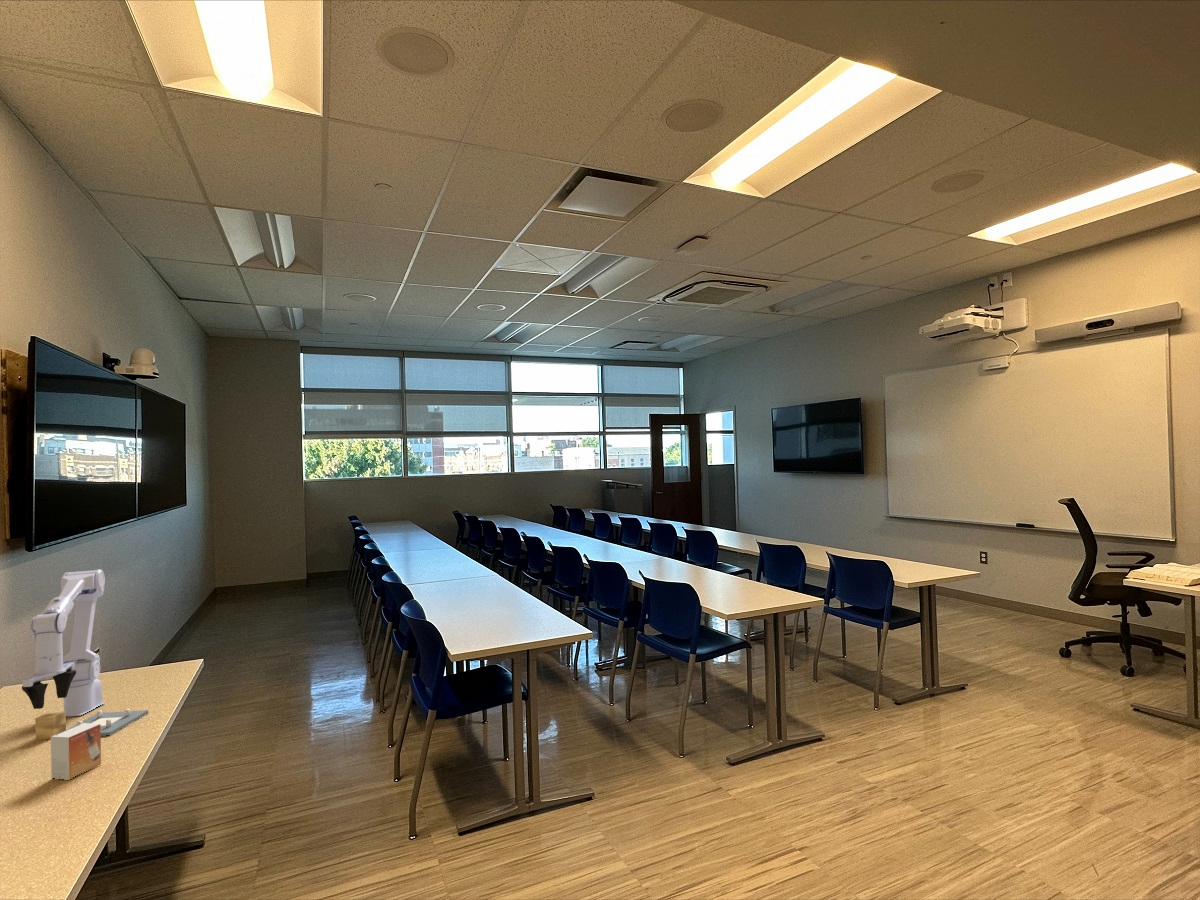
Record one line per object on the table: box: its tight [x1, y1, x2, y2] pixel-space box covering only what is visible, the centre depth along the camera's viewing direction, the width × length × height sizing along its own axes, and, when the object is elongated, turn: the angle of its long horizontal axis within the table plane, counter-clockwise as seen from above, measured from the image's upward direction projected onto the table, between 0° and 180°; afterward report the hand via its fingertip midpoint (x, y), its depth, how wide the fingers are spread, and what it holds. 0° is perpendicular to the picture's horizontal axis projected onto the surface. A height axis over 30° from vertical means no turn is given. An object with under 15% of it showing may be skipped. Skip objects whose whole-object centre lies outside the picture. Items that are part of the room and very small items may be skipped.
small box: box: [50, 723, 102, 781], centre depth 150 cm, size 8×6×10 cm
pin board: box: [59, 708, 149, 737], centre depth 177 cm, size 15×15×3 cm
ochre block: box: [34, 710, 67, 740], centre depth 171 cm, size 4×5×6 cm
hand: (50, 702), depth 171 cm, fingers open, 7 cm apart
